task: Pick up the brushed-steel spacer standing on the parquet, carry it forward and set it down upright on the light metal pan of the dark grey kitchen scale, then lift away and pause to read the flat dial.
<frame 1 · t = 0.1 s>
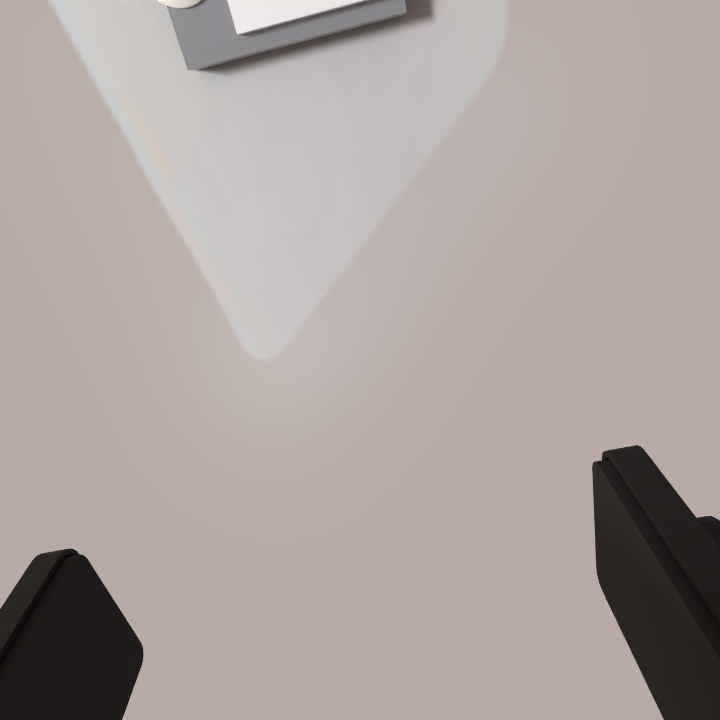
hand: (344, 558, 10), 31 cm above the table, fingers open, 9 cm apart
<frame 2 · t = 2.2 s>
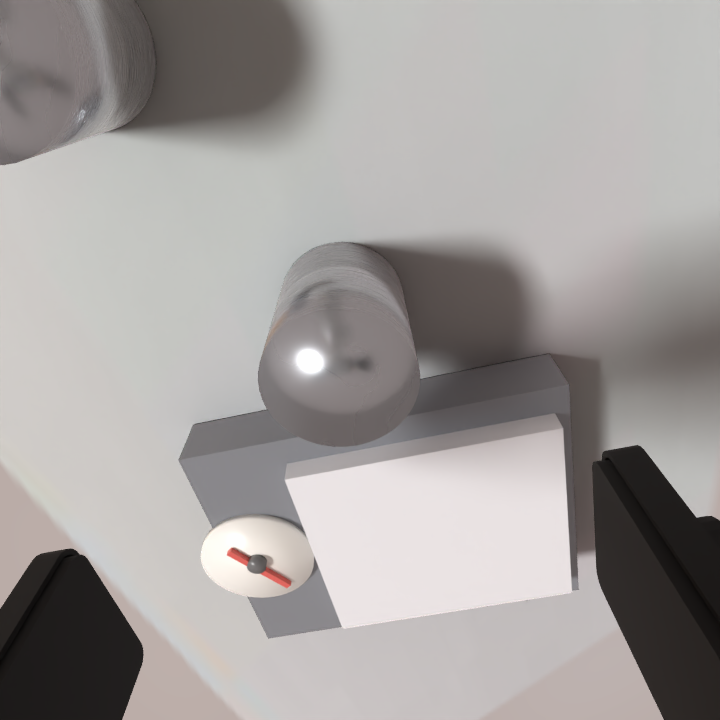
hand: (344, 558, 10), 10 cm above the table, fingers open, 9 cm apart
scale: (392, 492, 22), on the table
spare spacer: (77, 49, 14), on the table
spacer: (342, 301, 18), on the table
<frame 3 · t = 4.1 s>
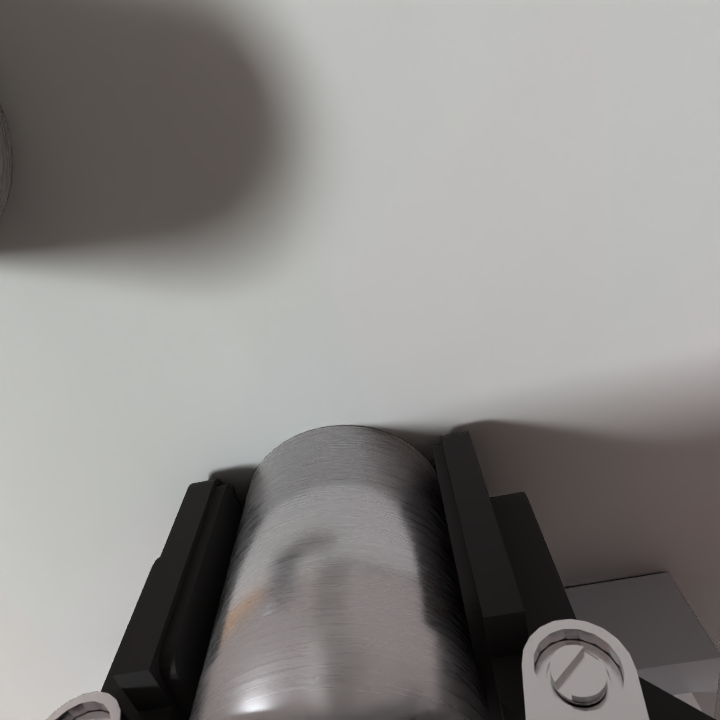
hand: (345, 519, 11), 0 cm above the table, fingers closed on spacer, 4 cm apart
spacer: (345, 507, 11), on the table, touching gripper
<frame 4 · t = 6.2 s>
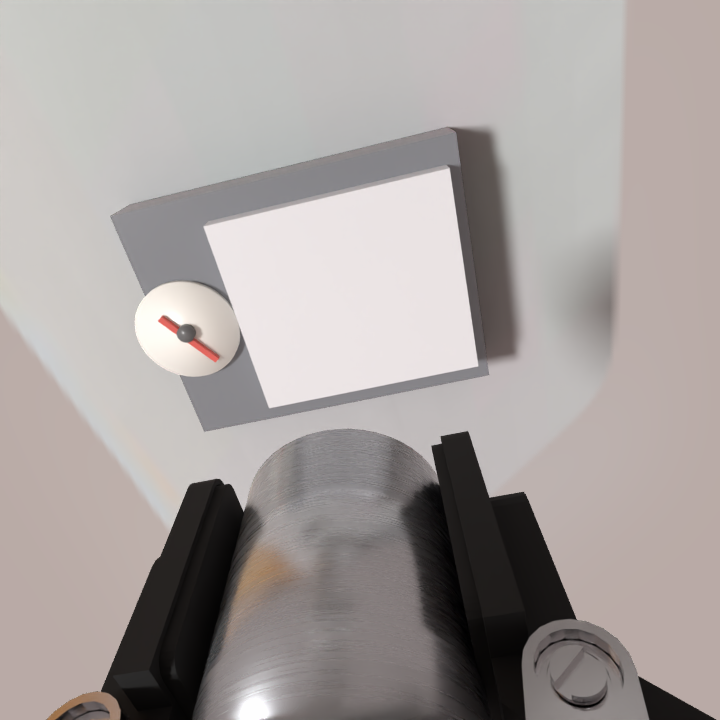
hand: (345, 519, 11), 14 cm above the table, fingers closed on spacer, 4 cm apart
scale: (316, 284, 24), on the table
spacer: (346, 510, 11), point 14 cm above the table, touching gripper
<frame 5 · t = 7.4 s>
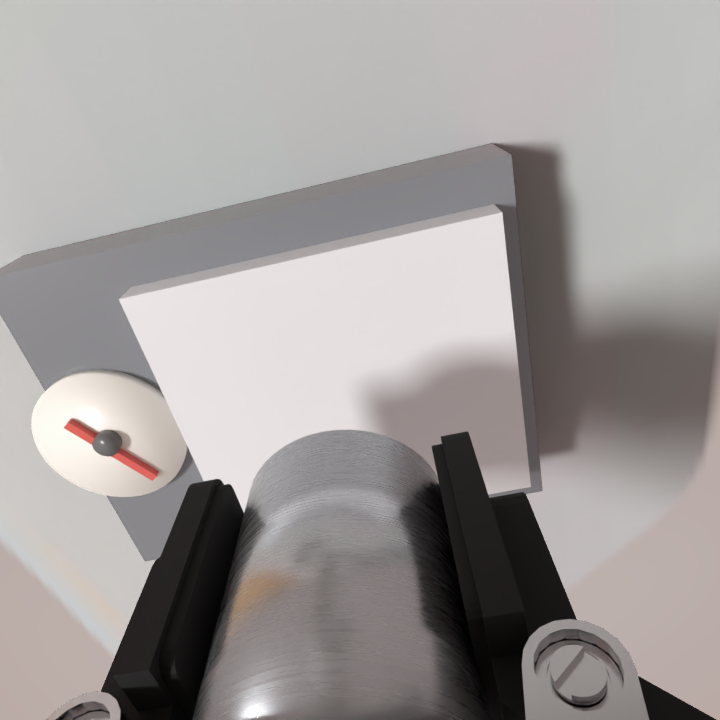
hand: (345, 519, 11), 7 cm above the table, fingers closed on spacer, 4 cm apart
scale: (299, 362, 17), on the table
spacer: (346, 510, 11), point 6 cm above the table, touching gripper
when the fingers open (4 cm above the table, at t = 8.2 s): spacer drops 1 cm, resting on scale.
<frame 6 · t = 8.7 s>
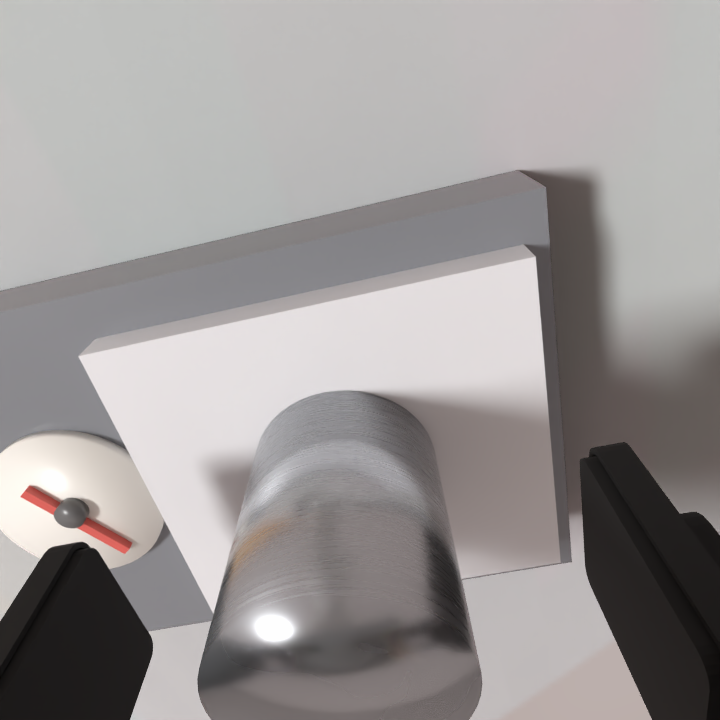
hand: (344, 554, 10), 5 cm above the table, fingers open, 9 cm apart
scale: (294, 414, 15), on the table
spacer: (345, 467, 12), point 3 cm above the table, touching scale
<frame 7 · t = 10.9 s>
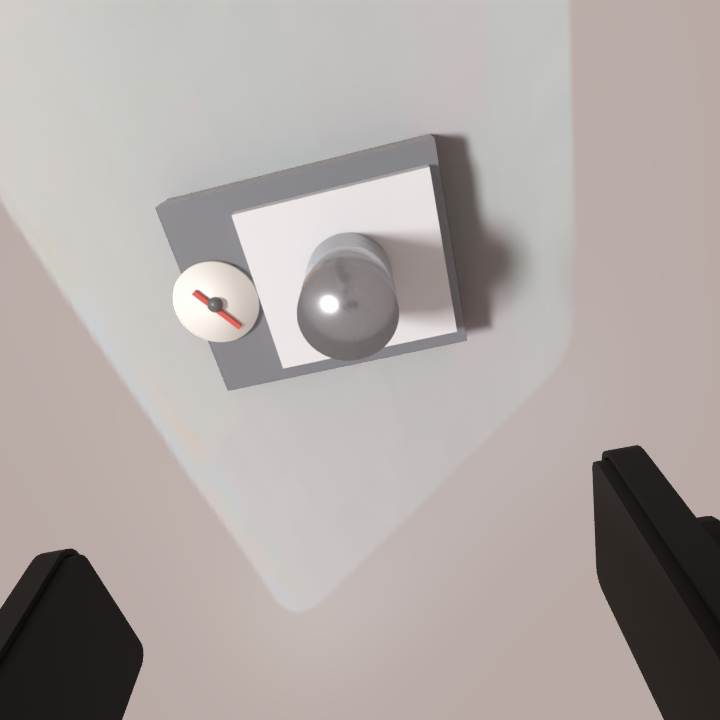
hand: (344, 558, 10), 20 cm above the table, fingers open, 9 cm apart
scale: (322, 265, 29), on the table
spacer: (349, 274, 26), point 3 cm above the table, touching scale
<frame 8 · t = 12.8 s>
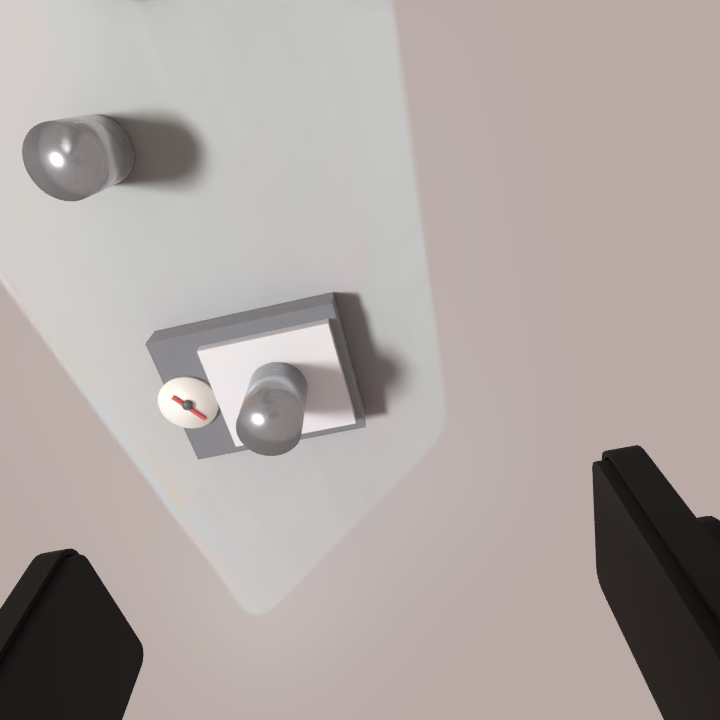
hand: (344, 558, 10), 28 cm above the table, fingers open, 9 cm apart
scale: (264, 373, 41), on the table
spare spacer: (101, 150, 33), on the table
spacer: (278, 387, 38), point 3 cm above the table, touching scale
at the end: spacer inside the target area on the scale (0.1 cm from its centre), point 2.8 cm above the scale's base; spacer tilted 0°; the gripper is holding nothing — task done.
